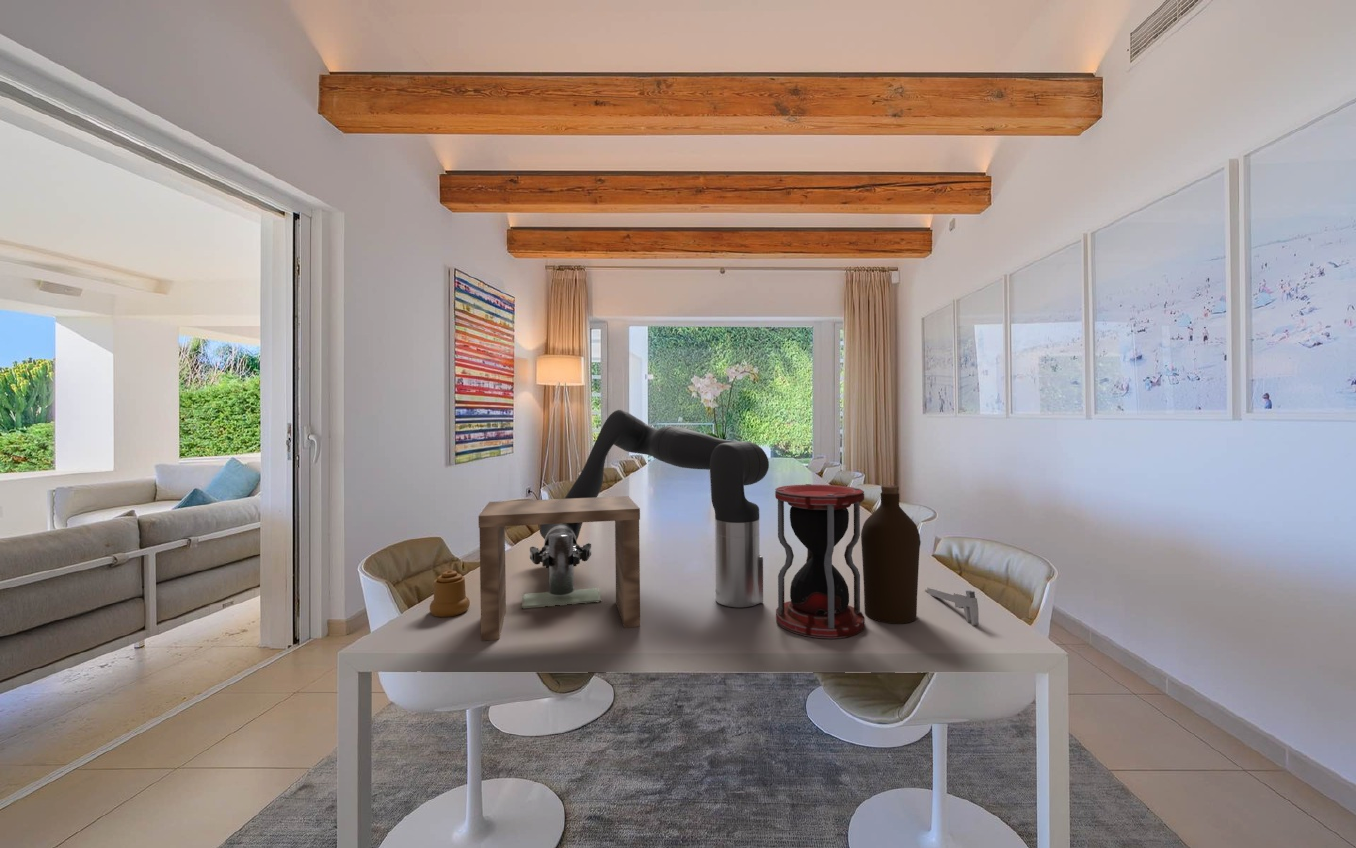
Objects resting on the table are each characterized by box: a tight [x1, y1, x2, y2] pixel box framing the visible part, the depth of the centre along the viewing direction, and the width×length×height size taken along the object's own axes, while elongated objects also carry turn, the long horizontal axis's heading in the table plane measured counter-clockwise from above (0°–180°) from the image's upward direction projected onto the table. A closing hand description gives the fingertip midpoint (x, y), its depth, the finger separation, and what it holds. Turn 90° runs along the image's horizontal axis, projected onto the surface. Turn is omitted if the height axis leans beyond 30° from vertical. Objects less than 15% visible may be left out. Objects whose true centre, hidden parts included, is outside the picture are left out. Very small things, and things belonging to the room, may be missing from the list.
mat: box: [521, 587, 602, 609], centre depth 118 cm, size 16×8×1 cm, turn 102°
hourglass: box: [774, 483, 866, 640], centre depth 104 cm, size 16×16×25 cm
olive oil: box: [860, 484, 922, 625], centre depth 107 cm, size 11×11×25 cm
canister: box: [548, 532, 575, 595], centre depth 118 cm, size 5×5×12 cm
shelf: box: [478, 495, 641, 642], centre depth 106 cm, size 28×16×22 cm, turn 102°
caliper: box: [924, 587, 979, 626], centre depth 111 cm, size 20×1×6 cm, turn 179°
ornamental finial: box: [429, 570, 471, 618], centre depth 111 cm, size 8×8×8 cm
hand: (561, 562), depth 115 cm, fingers closed on canister, 5 cm apart
